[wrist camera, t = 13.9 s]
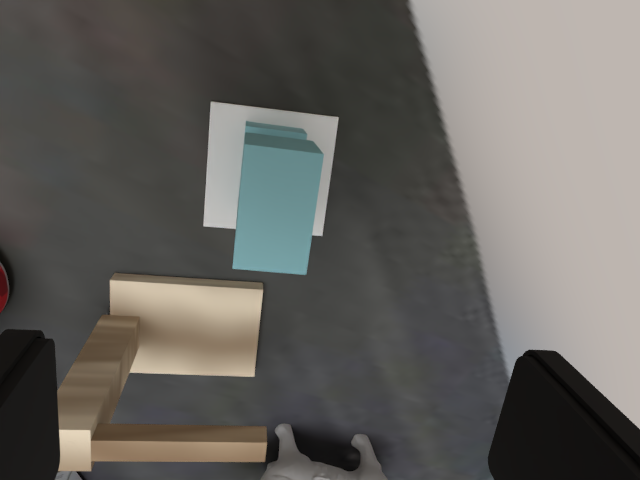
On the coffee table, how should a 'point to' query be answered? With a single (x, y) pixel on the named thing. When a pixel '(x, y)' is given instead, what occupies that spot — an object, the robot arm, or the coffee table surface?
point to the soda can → (3, 287)
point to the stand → (161, 370)
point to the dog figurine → (308, 476)
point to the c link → (276, 199)
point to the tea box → (67, 475)
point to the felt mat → (229, 152)
